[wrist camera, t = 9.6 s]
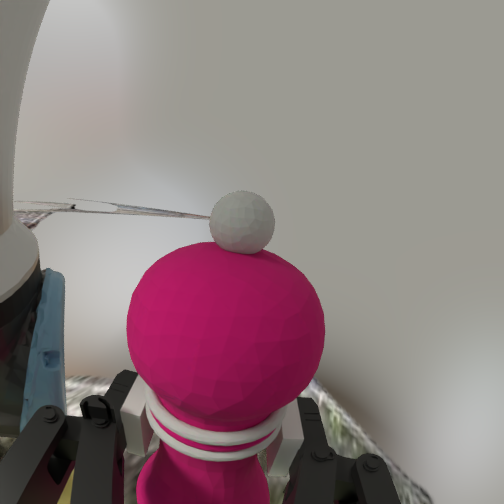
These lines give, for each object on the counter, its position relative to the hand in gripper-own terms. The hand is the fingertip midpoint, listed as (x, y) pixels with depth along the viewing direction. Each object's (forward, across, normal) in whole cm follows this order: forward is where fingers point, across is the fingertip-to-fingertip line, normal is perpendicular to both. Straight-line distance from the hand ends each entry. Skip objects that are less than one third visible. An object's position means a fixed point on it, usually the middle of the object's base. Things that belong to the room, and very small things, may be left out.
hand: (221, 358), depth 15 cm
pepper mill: (-5, 0, -11) cm, 12 cm away
